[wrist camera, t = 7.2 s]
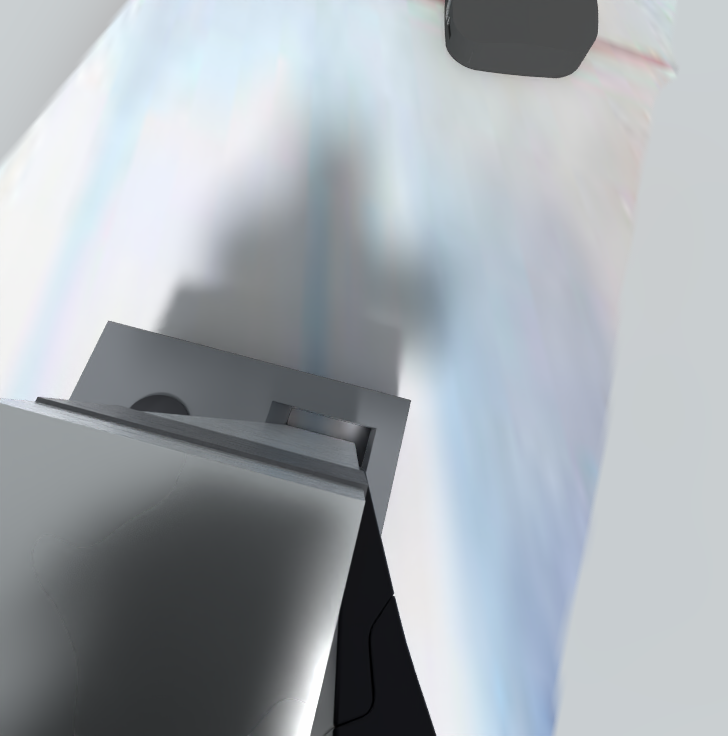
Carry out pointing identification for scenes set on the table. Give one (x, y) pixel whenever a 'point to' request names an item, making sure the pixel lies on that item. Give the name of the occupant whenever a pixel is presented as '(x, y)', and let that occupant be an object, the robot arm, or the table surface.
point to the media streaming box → (521, 35)
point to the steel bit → (168, 570)
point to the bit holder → (238, 393)
